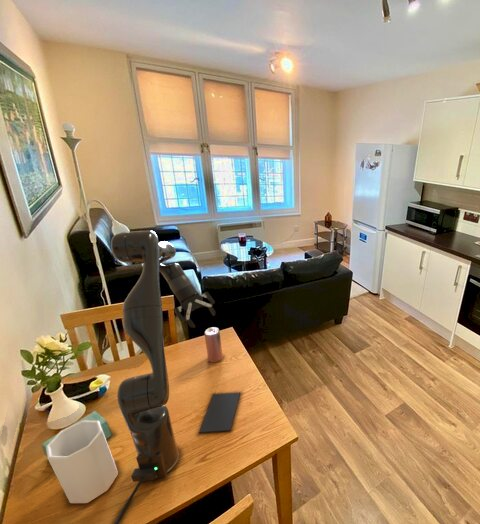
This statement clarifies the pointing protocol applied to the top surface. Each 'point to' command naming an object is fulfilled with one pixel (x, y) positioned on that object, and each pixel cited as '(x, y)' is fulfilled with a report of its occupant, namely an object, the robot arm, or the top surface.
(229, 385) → the top surface
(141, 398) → the robot arm
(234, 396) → the mat
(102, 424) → the box
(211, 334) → the beverage can
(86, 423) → the cup
